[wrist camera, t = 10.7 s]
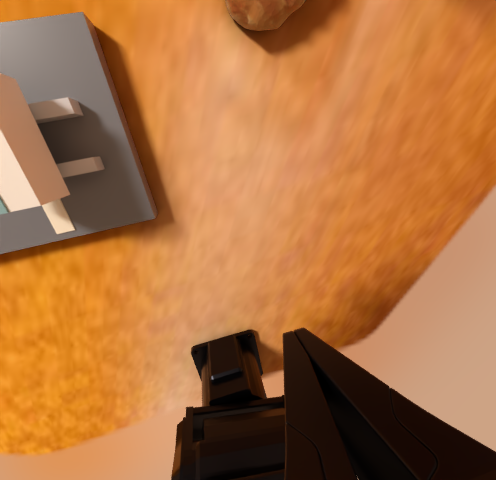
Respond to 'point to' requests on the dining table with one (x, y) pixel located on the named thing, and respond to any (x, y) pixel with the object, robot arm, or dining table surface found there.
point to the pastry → (262, 12)
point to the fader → (24, 155)
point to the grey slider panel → (73, 132)
